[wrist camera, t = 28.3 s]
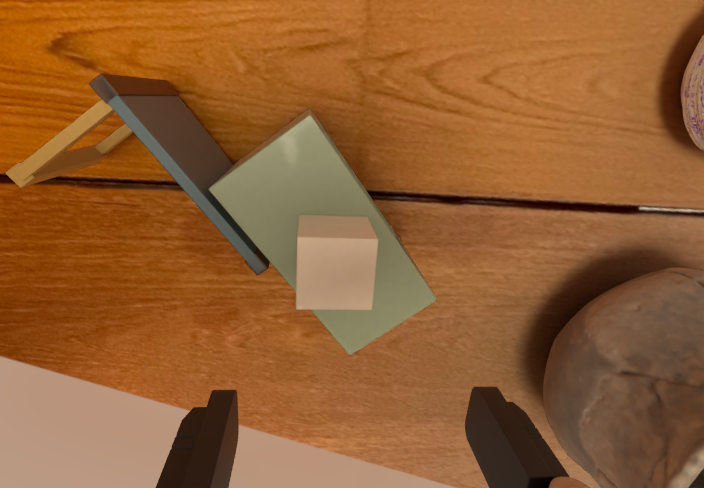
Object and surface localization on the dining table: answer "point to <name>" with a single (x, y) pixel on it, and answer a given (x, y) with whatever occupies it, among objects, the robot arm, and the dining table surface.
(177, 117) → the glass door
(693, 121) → the paper bowls
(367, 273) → the block
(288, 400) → the dining table surface
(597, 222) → the dining table surface
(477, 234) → the dining table surface
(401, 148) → the dining table surface
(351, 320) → the cabinet
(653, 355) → the pot
